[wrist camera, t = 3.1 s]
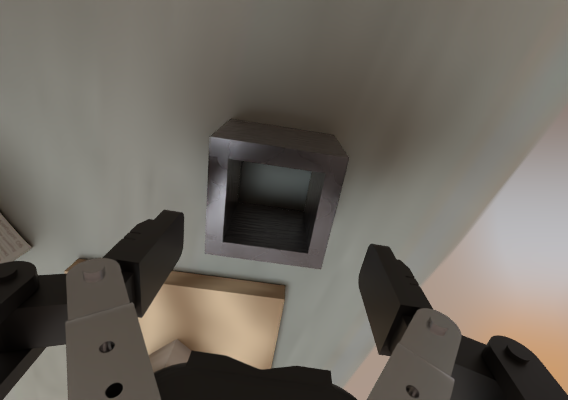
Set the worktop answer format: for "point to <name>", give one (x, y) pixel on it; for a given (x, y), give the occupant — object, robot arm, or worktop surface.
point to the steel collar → (263, 219)
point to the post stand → (212, 319)
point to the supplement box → (10, 242)
